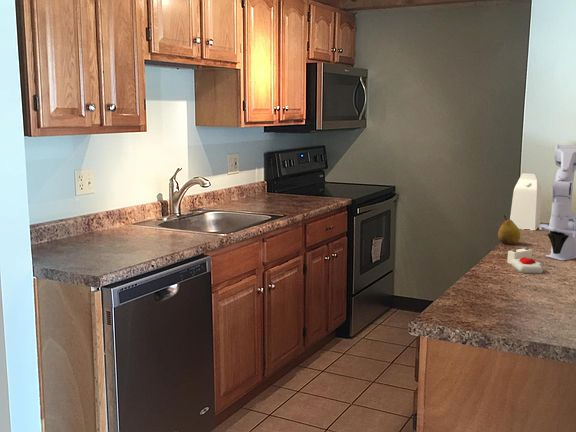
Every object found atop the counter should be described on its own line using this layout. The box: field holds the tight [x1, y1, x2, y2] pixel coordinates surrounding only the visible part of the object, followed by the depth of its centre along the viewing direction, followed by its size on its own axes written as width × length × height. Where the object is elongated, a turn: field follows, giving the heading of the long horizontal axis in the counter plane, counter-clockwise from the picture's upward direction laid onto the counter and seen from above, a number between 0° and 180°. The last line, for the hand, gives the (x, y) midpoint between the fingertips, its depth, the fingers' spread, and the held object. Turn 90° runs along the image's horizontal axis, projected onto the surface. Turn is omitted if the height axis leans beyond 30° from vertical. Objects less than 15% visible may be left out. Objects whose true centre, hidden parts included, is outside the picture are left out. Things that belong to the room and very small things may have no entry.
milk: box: [509, 172, 542, 231], centre depth 307 cm, size 12×12×26 cm
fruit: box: [497, 215, 521, 245], centre depth 273 cm, size 9×9×12 cm
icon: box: [510, 257, 544, 274], centre depth 232 cm, size 12×4×10 cm
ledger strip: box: [506, 246, 533, 265], centre depth 242 cm, size 10×3×5 cm, turn 121°
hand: (556, 253), depth 225 cm, fingers closed
